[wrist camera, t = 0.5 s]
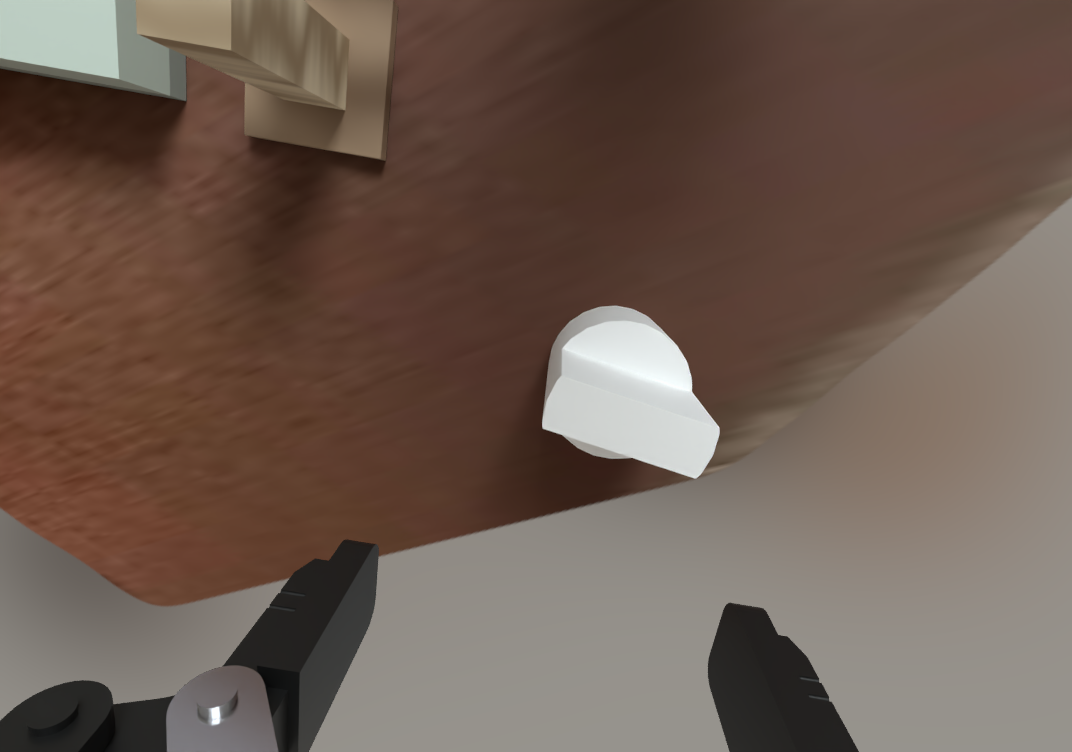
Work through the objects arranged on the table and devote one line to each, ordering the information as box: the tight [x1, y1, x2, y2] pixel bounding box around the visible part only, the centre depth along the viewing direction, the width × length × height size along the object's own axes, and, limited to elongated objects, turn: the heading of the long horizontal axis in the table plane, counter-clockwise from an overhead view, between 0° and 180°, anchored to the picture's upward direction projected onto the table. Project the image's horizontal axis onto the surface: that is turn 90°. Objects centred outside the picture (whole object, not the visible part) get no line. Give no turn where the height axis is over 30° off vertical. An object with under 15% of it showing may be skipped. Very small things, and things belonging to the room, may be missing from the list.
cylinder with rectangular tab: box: [542, 306, 719, 479], centre depth 33 cm, size 9×9×12 cm
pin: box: [136, 0, 350, 110], centre depth 27 cm, size 4×4×12 cm
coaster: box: [244, 0, 398, 161], centre depth 33 cm, size 9×9×1 cm
